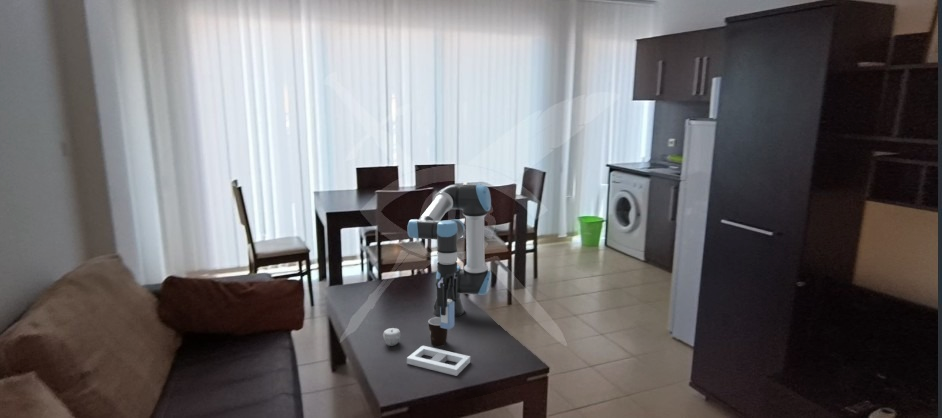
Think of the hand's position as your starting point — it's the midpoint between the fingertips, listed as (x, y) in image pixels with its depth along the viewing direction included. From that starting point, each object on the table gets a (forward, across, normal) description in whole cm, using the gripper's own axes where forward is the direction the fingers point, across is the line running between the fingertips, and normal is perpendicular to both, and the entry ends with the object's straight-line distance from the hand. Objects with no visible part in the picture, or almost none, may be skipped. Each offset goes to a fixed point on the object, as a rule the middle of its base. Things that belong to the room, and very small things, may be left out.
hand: (447, 320), depth 200 cm
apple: (+19, -6, -30) cm, 36 cm away
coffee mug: (+19, -17, -14) cm, 29 cm away
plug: (+3, 0, 0) cm, 3 cm away
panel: (+19, 0, -4) cm, 19 cm away
